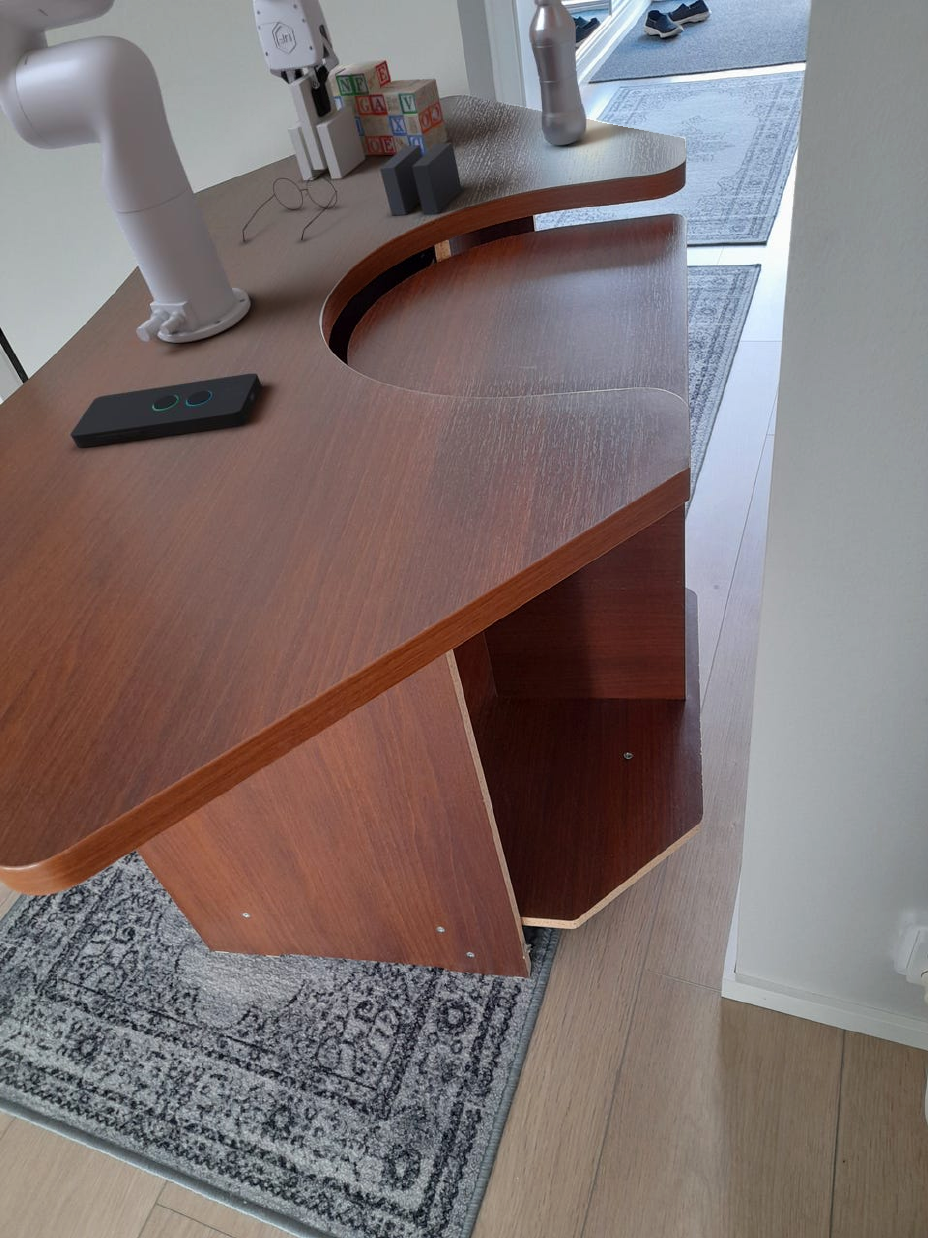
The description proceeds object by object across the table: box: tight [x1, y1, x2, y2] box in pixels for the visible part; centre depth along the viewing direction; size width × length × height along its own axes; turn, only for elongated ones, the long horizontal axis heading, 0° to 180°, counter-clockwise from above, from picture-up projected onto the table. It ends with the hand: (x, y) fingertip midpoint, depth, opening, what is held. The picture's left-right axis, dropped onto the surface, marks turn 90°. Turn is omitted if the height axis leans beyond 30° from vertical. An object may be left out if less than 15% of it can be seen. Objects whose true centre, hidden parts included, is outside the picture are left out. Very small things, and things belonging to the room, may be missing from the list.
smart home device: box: [70, 373, 263, 449], centre depth 98 cm, size 8×2×20 cm
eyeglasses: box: [242, 175, 338, 243], centre depth 132 cm, size 11×13×5 cm
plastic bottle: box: [528, 0, 588, 146], centre depth 128 cm, size 6×7×20 cm
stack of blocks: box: [328, 59, 448, 156], centre depth 147 cm, size 21×6×12 cm, turn 55°
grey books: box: [379, 141, 463, 216], centre depth 127 cm, size 8×8×6 cm
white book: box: [288, 72, 337, 170], centre depth 143 cm, size 8×2×12 cm, turn 155°
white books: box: [287, 107, 366, 181], centre depth 146 cm, size 8×8×8 cm
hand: (317, 113), depth 143 cm, fingers closed on white book, 2 cm apart
